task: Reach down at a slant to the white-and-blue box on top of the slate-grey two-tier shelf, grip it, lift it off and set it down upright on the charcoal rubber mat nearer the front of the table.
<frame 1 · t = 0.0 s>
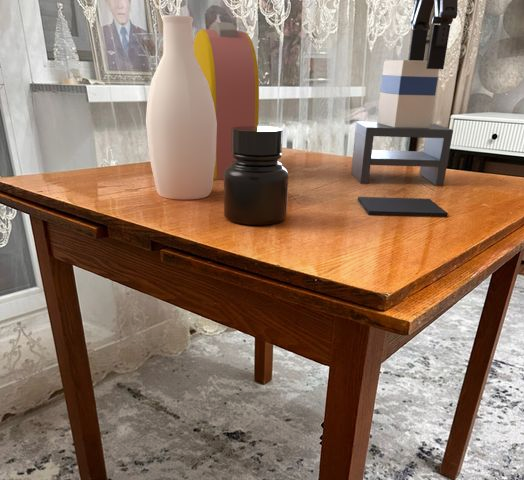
hand: (424, 69, 99), 20 cm above the table, tool pointing down, fingers open, 13 cm apart
bottle: (184, 195, 91), on the table
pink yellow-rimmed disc: (222, 170, 113), on the table
box: (402, 125, 104), point 10 cm above the table, touching gripper, shelf
ink bottle: (255, 219, 78), on the table
shelf: (395, 178, 109), on the table
mat: (400, 208, 86), on the table
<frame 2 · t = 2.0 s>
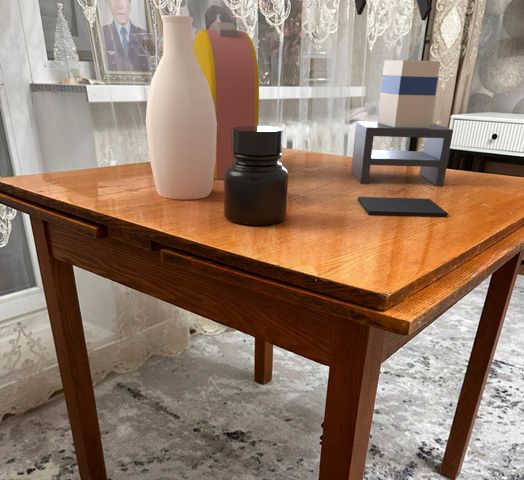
hand: (394, 11, 103), 29 cm above the table, tool tilted 45°, fingers open, 13 cm apart
box: (402, 125, 104), point 10 cm above the table, touching shelf
everything else where it was.
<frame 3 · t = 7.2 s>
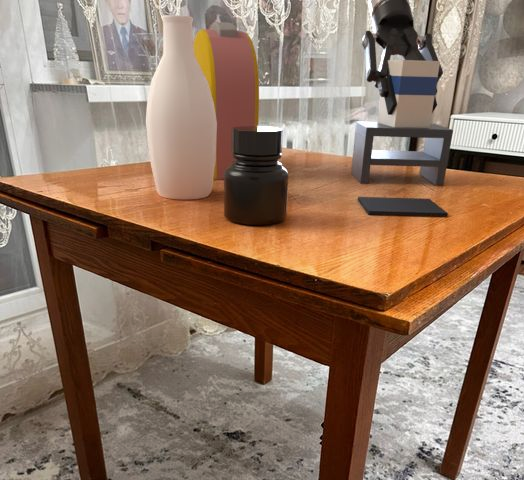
hand: (412, 109, 100), 13 cm above the table, tool tilted 45°, fingers closed on box, 7 cm apart
box: (402, 125, 104), point 10 cm above the table, touching gripper, shelf
everything else where it was.
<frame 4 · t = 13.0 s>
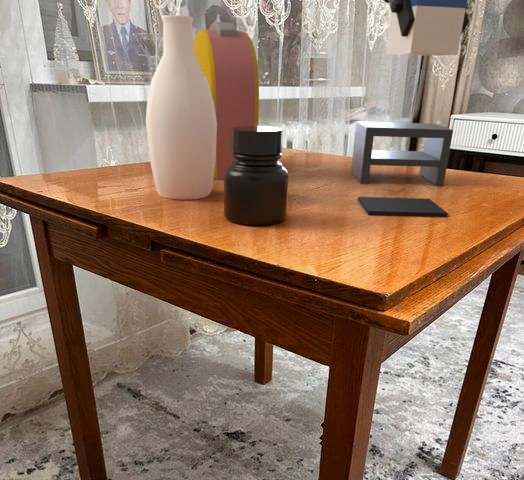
hand: (435, 29, 74), 25 cm above the table, tool tilted 45°, fingers closed on box, 7 cm apart
box: (420, 54, 78), point 22 cm above the table, touching gripper
everything else where it was.
when the fingers open (4 cm above the table, at t = 19.1 s): box stays where it is, resting on mat.
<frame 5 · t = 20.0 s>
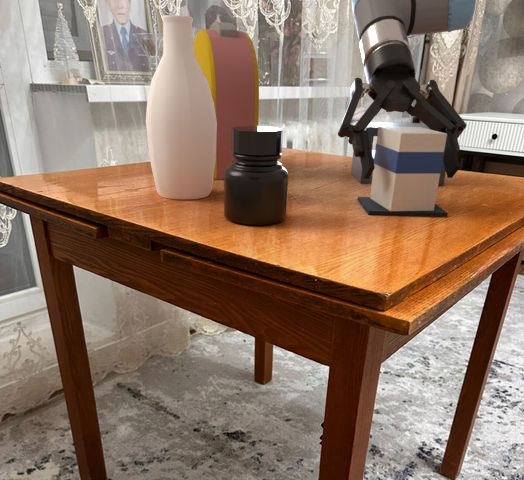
hand: (412, 173, 81), 6 cm above the table, tool tilted 45°, fingers open, 13 cm apart
box: (400, 204, 86), point 1 cm above the table, touching mat
everything else where it was.
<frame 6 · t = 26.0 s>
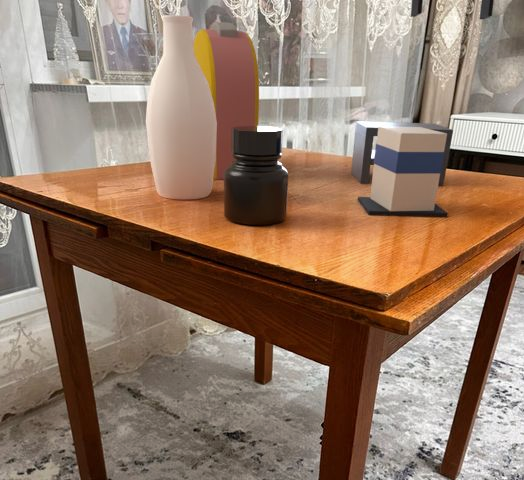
hand: (451, 16, 97), 28 cm above the table, tool pointing down, fingers open, 13 cm apart
nothing on the table moved.
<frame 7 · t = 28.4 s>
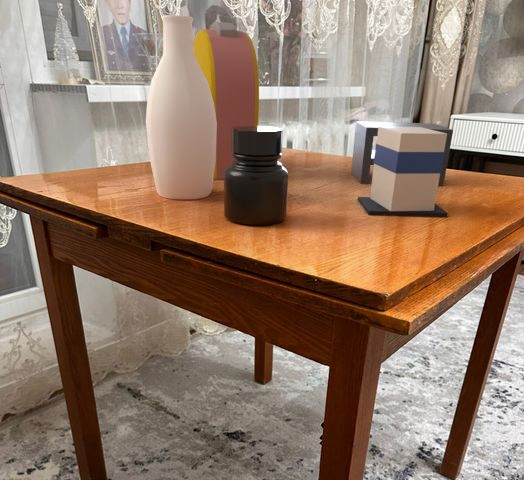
nothing on the table moved.
at the end: box inside the target area on the mat (0.0 cm from its centre), point 0.6 cm above the mat's base; box tilted 0°; box touching mat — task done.
